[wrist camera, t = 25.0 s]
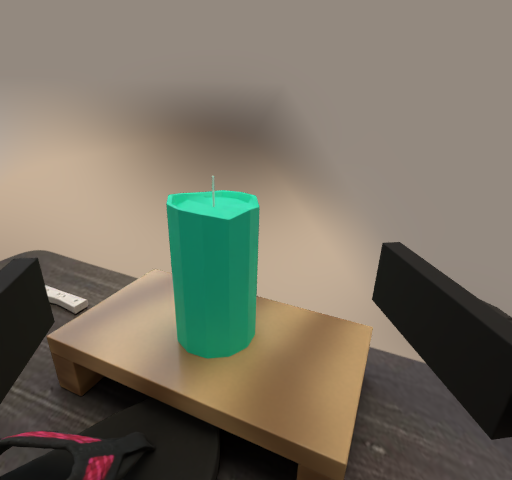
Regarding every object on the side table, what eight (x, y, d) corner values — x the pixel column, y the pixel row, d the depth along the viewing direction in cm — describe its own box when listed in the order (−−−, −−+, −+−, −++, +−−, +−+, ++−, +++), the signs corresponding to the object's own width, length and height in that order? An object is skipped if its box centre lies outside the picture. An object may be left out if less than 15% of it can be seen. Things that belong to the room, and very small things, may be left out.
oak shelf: (363, 374, 28) (373, 326, 26) (334, 524, 18) (346, 465, 16) (158, 308, 36) (154, 268, 34) (59, 386, 26) (45, 336, 24)
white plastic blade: (45, 333, 32) (42, 323, 32) (-43, 295, 38) (-46, 287, 37) (88, 305, 36) (87, 297, 36) (4, 275, 42) (2, 267, 41)
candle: (165, 354, 23) (147, 184, 18) (190, 305, 28) (181, 165, 24) (250, 363, 22) (255, 190, 18) (259, 311, 28) (264, 169, 23)
